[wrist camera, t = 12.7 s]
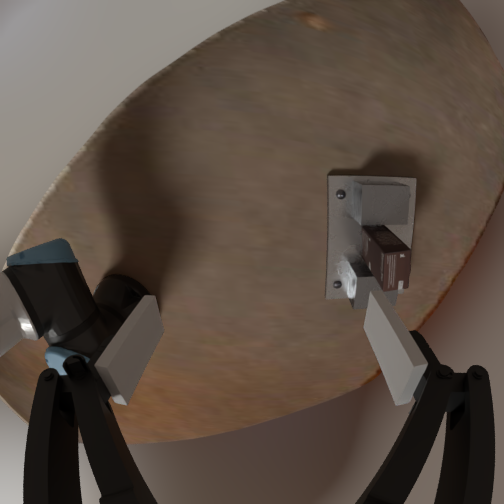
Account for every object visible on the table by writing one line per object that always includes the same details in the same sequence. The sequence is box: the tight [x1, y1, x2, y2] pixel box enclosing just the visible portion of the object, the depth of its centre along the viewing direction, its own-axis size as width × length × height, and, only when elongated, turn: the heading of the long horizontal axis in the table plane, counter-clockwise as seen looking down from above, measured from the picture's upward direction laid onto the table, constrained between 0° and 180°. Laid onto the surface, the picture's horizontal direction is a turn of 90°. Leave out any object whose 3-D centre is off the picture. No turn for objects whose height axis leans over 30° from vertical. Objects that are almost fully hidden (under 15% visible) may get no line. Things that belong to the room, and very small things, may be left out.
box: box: [361, 225, 411, 292], centre depth 38 cm, size 6×4×12 cm
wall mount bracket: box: [325, 175, 416, 309], centre depth 42 cm, size 16×22×6 cm
